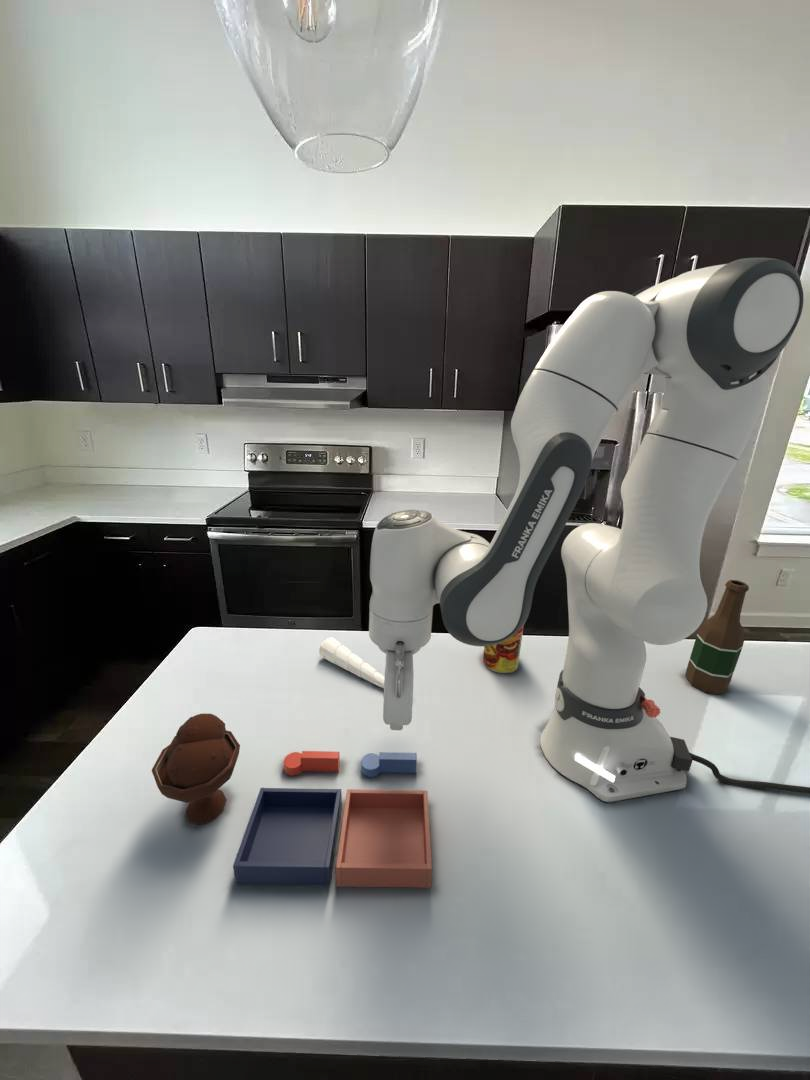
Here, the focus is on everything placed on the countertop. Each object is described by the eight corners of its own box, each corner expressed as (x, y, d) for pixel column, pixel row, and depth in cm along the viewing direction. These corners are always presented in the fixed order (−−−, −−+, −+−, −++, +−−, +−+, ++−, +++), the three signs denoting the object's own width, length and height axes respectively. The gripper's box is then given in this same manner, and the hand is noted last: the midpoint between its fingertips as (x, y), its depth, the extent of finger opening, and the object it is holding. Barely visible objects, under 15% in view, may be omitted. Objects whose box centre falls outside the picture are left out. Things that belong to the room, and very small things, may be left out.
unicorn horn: (396, 710, 82) (396, 690, 80) (317, 659, 96) (316, 641, 94) (411, 697, 85) (412, 677, 83) (333, 650, 99) (333, 633, 98)
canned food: (478, 652, 100) (483, 607, 96) (511, 651, 101) (517, 606, 97) (488, 674, 93) (494, 626, 89) (523, 672, 94) (530, 625, 89)
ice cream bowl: (166, 789, 65) (148, 710, 60) (244, 766, 69) (233, 690, 64) (159, 856, 56) (137, 770, 51) (249, 824, 60) (237, 742, 55)
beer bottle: (726, 680, 93) (760, 580, 84) (728, 700, 87) (766, 595, 78) (684, 667, 97) (713, 571, 88) (683, 686, 90) (715, 584, 82)
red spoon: (340, 760, 71) (340, 747, 70) (337, 776, 68) (337, 763, 67) (287, 759, 71) (285, 746, 70) (281, 775, 68) (280, 762, 67)
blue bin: (342, 806, 63) (341, 788, 62) (330, 886, 53) (329, 867, 52) (262, 805, 63) (260, 787, 62) (236, 885, 53) (232, 866, 52)
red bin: (426, 807, 63) (427, 790, 62) (430, 887, 53) (431, 869, 52) (347, 806, 63) (346, 789, 62) (336, 886, 53) (335, 867, 52)
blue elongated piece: (415, 761, 71) (416, 748, 70) (416, 777, 68) (416, 764, 67) (362, 760, 71) (362, 747, 70) (360, 777, 68) (360, 763, 67)
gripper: (426, 671, 50) (420, 760, 55) (420, 592, 69) (415, 663, 74) (373, 669, 50) (371, 758, 55) (381, 590, 69) (379, 661, 74)
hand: (396, 703), depth 65 cm, fingers open, 8 cm apart
